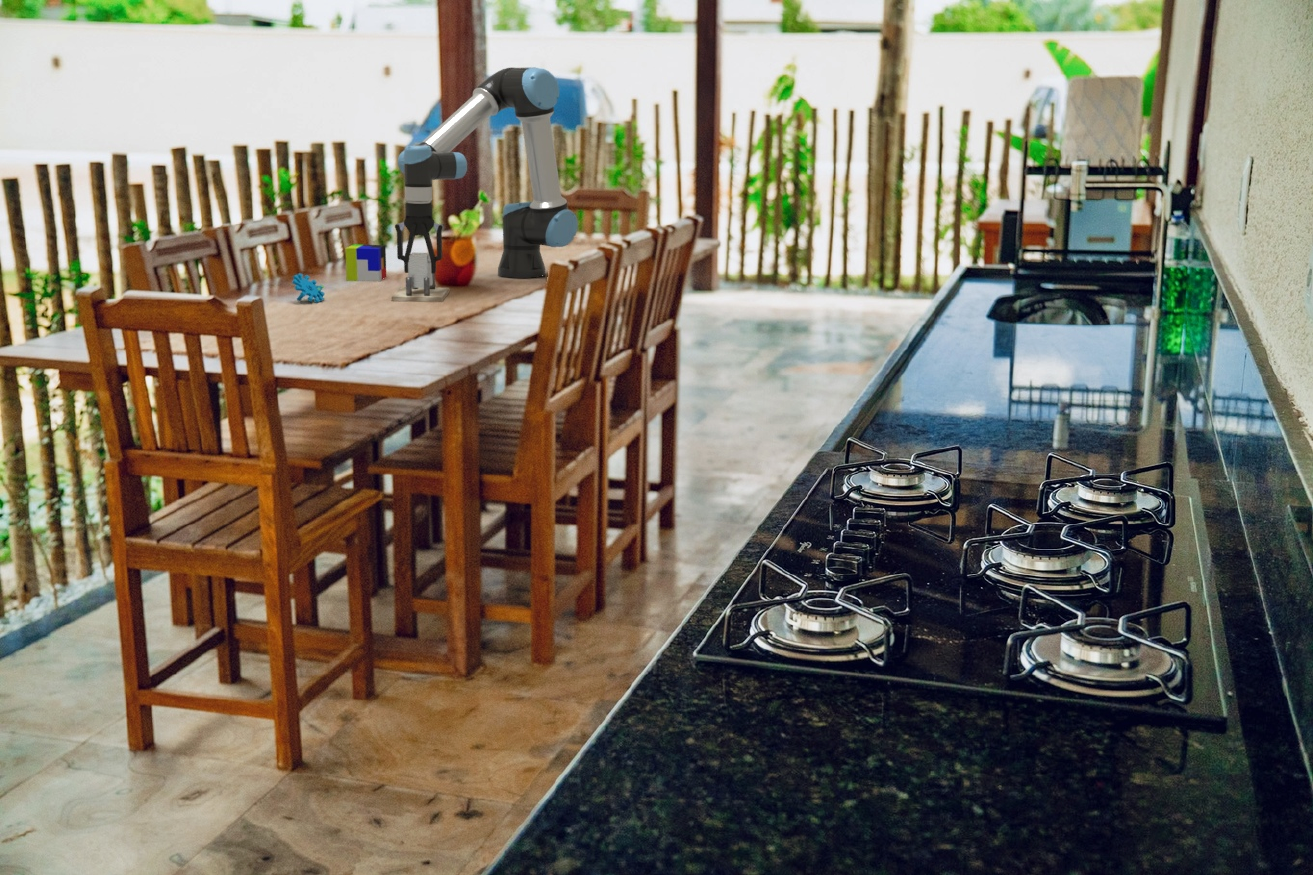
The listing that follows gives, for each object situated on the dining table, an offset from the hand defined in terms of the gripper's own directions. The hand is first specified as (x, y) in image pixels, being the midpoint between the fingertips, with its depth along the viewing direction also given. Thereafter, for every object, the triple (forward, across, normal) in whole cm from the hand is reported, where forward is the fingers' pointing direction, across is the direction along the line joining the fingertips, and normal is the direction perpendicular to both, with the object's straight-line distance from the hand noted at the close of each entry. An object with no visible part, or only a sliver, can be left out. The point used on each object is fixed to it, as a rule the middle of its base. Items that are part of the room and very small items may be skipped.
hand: (420, 284), depth 376 cm
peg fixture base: (+3, 0, 0) cm, 3 cm away
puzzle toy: (+4, +21, -33) cm, 39 cm away
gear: (+4, +29, +11) cm, 31 cm away
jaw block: (0, 0, 0) cm, 0 cm away
